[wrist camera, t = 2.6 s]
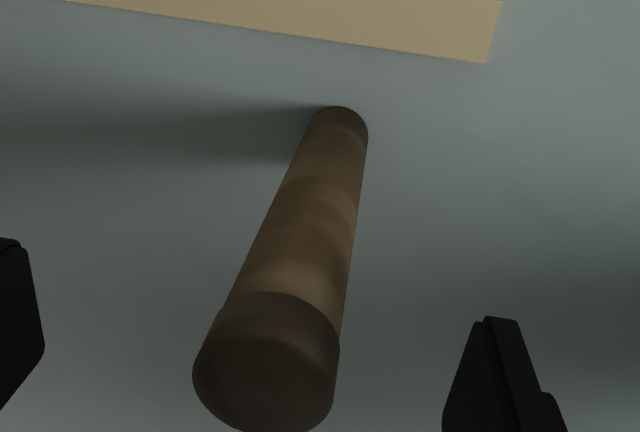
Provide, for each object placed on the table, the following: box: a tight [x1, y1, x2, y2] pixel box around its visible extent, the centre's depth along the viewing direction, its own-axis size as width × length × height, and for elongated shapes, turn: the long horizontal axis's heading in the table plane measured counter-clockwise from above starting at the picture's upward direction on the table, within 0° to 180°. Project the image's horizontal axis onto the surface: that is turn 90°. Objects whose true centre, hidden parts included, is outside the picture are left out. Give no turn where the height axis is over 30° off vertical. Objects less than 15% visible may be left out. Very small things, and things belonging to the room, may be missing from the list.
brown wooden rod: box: [192, 106, 368, 432], centre depth 16 cm, size 3×3×14 cm
